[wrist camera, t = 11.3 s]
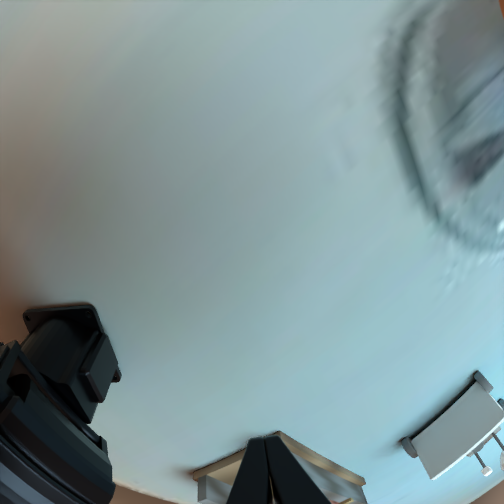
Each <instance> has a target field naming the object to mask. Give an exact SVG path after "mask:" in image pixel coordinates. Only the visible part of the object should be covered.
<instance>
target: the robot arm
mask: <svg viewBox="0 0 504 504" xmlns="http://www.w3.org/2000/svg"><path fill="white" fill-rule="evenodd" d="M87 311H89V312H90V313H91V314H92V315H90V314H88V312H87ZM28 316H29V317H30V318H29V317H28ZM23 319H24V322H25V324H26V326H27V329H28V331H29V335H28V336H27V337H26V338H25V340H24V341H23V342H22V344H21V345H19V343H18V342H17V341H16V340H14V341H12V342H10V343H8V344H6V345H4V344H3V342H2V343H1V342H0V504H109V503H110V501H111V500H112V498H113V495H114V491H115V487H116V485H115V483H114V482H113V481H112V465H111V463H110V460H109V458H108V451H107V442H106V440H105V439H103V438H102V437H101V436H98V435H97V434H96V433H95V432H94V431H93V430H92V429H91V428H90V427H89V426H88V425H87V424H90V423H91V421H92V419H93V416H94V413H95V410H96V407H97V405H98V403H103V401H104V400H105V397H106V395H107V392H108V389H109V386H110V384H111V383H113V382H119V381H120V379H121V376H122V375H121V372H120V370H119V368H118V361H117V359H116V356H115V354H114V351H113V349H112V346H111V344H110V341H109V339H108V336H107V335H106V334H105V333H104V330H103V327H102V325H101V322H100V319H99V316H98V314H97V311H96V309H95V308H94V307H93V306H91V305H82V306H70V307H58V308H45V309H31V310H26V311H25V312H24V313H23ZM113 375H115V376H116V377H115V376H113ZM264 440H265V441H264ZM265 447H266V448H265ZM270 480H271V481H270ZM271 487H272V488H271ZM272 493H273V495H272ZM273 498H274V502H275V504H332V503H331V502H330V501H329V500H328V498H327V497H326V496H325V495H324V493H323V492H322V491H321V490H320V488H319V487H318V486H317V485H316V483H315V482H314V481H313V480H312V478H311V477H310V476H309V475H308V473H307V472H306V471H305V469H304V468H303V467H302V466H301V464H300V463H299V462H298V460H297V459H296V458H295V456H294V455H293V454H292V452H291V451H290V450H289V448H288V447H287V446H286V444H285V443H284V442H283V440H282V439H281V438H280V436H278V435H271V436H266V437H265V438H263V437H257V438H251V439H250V440H249V441H248V444H247V447H246V450H245V453H244V455H243V458H242V461H241V464H240V467H239V469H238V472H237V475H236V478H235V480H234V483H233V486H232V488H231V491H230V494H229V496H228V499H227V501H226V504H273Z"/></svg>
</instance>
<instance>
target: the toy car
mask: <svg viewBox="0 0 504 504" xmlns="http://www.w3.org/2000/svg"><path fill="white" fill-rule="evenodd" d="M473 377H474V378H475V379H476V380H477V381H476V382H475V383H474V384H473V385H472V386H471V388H470V389H469V390H468V391H467V392H466V393H465V394H464V395H463V396H461V397H460V398H459V399H458V400H457V401H456V402H455V403H454V404H453V405H452V406H451V407H450V408H449V409H448V410H447V411H446V412H444V413H443V414H442V415H441V416H440V417H439V418H438V419H437V420H435V421H434V422H433V423H432V424H431V425H430V426H428V427H427V428H426V429H425V430H424V431H423V432H421V433H420V434H419V435H418V436H416V437H415V438H414V439H410V438H409V437H406V438H404V439H403V440H402V446H403V448H404V449H405V451H406V452H407V453H408V454H409V455H410V456H411V457H413V458H416V457H417V456H419V458H420V460H421V462H422V464H423V466H424V468H425V469H426V471H427V473H428V475H429V477H430V479H431V480H435V479H436V478H438V477H439V476H441V475H442V474H443V473H445V472H446V471H447V470H449V469H450V468H451V467H452V466H454V465H455V464H456V463H458V462H459V461H460V460H461V459H462V458H464V457H465V456H469V457H471V456H472V455H473V454H475V455H476V457H477V459H478V460H479V462H480V463H481V465H482V467H483V468H484V469H482V470H481V471H482V473H483V475H484V476H488V475H489V474H490V473H492V472H493V471H492V469H491V468H490V467H489V466H485V464H484V463H483V461H482V459H481V458H480V456H479V455H478V453H477V452H479V451H480V450H481V449H482V448H483V446H484V444H486V443H487V442H488V441H489V440H490V439H491V438H492V437H494V438H495V440H496V441H497V442H498V444H499V445H500V447H501V448H502V450H503V451H502V453H501V457H500V464H501V469H502V470H503V471H504V446H503V444H502V443H501V442H500V440H499V439H498V437H497V436H496V435H495V434H496V433H497V432H498V431H500V430H501V428H500V427H499V425H500V424H501V423H502V422H503V421H504V401H503V399H502V398H501V399H500V400H499V401H498V402H496V400H495V399H494V398H493V397H492V396H491V395H490V394H489V392H490V391H491V390H492V389H493V387H492V385H491V384H490V383H489V382H488V381H487V379H486V378H485V377H484V376H483V375H482V374H481V373H480V372H479V371H477V372H476V373H475V374H474V376H473Z"/></svg>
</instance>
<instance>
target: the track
mask: <svg viewBox="0 0 504 504" xmlns="http://www.w3.org/2000/svg"><path fill="white" fill-rule="evenodd" d="M273 435H278V436H280V438H281V439H282V440H283V442H284V443H285V444H286V446H287V447H288V448H289V450H290V451H291V452H292V454H293V455H294V456H295V458H296V459H297V460H298V462H299V463H300V464H301V466H302V467H303V468H304V469H305V471H306V472H307V473H308V475H309V476H310V477H311V478H312V480H313V481H314V482H315V483H316V485H317V486H318V487H319V488H320V490H321V491H322V492H323V493H324V495H325V496H326V497H327V498H328V499H330V500H333V501H336V502H339V503H338V504H367V501H366V498H365V495H364V493H363V490H362V487H361V486H363V485H365V484H366V482H365V480H364V478H363V477H361V476H359V475H357V474H355V473H353V472H351V471H349V470H347V469H345V468H343V467H341V466H339V465H338V464H336V463H334V462H332V461H330V460H328V459H327V458H325V457H323V456H321V455H319V454H318V453H316V452H314V451H312V450H311V449H309V448H307V447H306V446H304V445H302V444H300V443H299V442H297V441H295V440H294V439H292V438H291V437H289V436H287V435H286V434H284V433H282V432H281V431H279V432H277V433H275V434H273ZM264 441H265V440H264ZM265 448H266V447H265ZM245 450H246V449H244V450H242V451H240V452H238V453H236V454H234V455H232V456H229V457H227V458H225V459H223V460H221V461H219V462H216V463H214V464H212V465H209V466H207V467H205V468H202V469H200V470H198V471H195V472H193V480H195V481H197V482H198V502H199V503H202V504H226V501H227V499H228V496H229V494H230V491H231V488H232V486H233V483H234V480H235V478H236V475H237V472H238V469H239V467H240V464H241V461H242V458H243V455H244V453H245ZM270 481H271V480H270ZM271 488H272V487H271ZM272 495H273V493H272ZM273 504H275V502H274V498H273Z"/></svg>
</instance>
